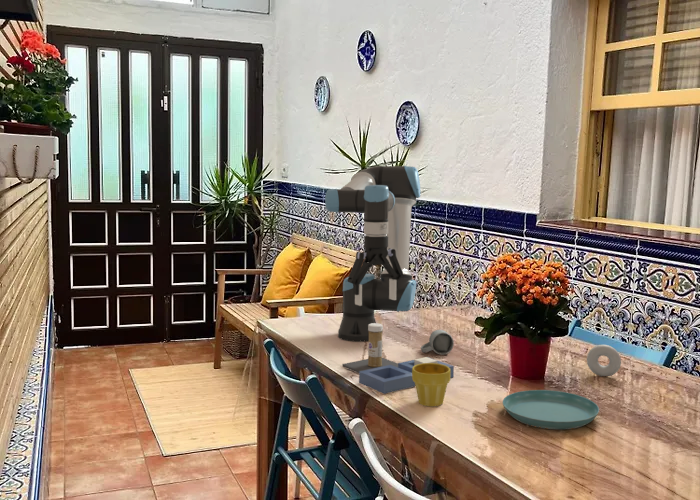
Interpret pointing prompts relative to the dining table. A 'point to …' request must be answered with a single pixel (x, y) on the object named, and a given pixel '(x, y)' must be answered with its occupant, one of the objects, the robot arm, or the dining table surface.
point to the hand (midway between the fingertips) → (375, 302)
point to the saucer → (550, 409)
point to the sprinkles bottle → (375, 345)
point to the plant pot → (431, 382)
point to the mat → (366, 365)
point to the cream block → (424, 360)
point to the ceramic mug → (439, 343)
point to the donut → (603, 351)
